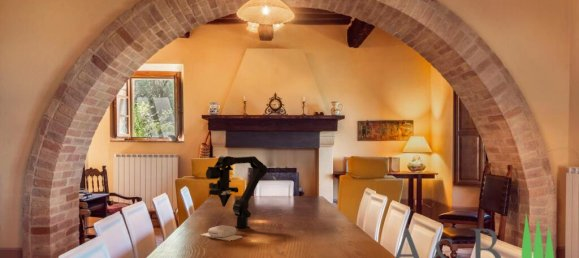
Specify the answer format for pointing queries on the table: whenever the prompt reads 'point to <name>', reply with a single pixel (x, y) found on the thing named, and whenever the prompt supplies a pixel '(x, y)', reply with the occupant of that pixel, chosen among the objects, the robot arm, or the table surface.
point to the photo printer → (222, 231)
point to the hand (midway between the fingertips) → (223, 206)
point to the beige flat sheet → (231, 237)
